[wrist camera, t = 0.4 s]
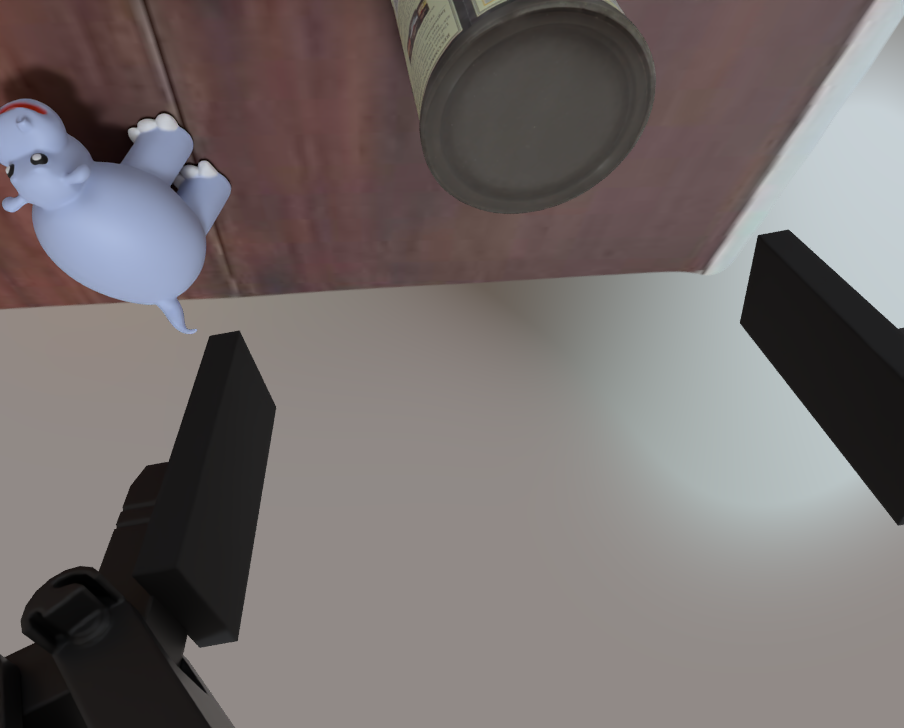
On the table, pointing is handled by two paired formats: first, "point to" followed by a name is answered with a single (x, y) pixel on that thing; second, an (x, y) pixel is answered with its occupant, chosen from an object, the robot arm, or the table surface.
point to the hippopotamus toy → (114, 205)
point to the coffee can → (525, 95)
